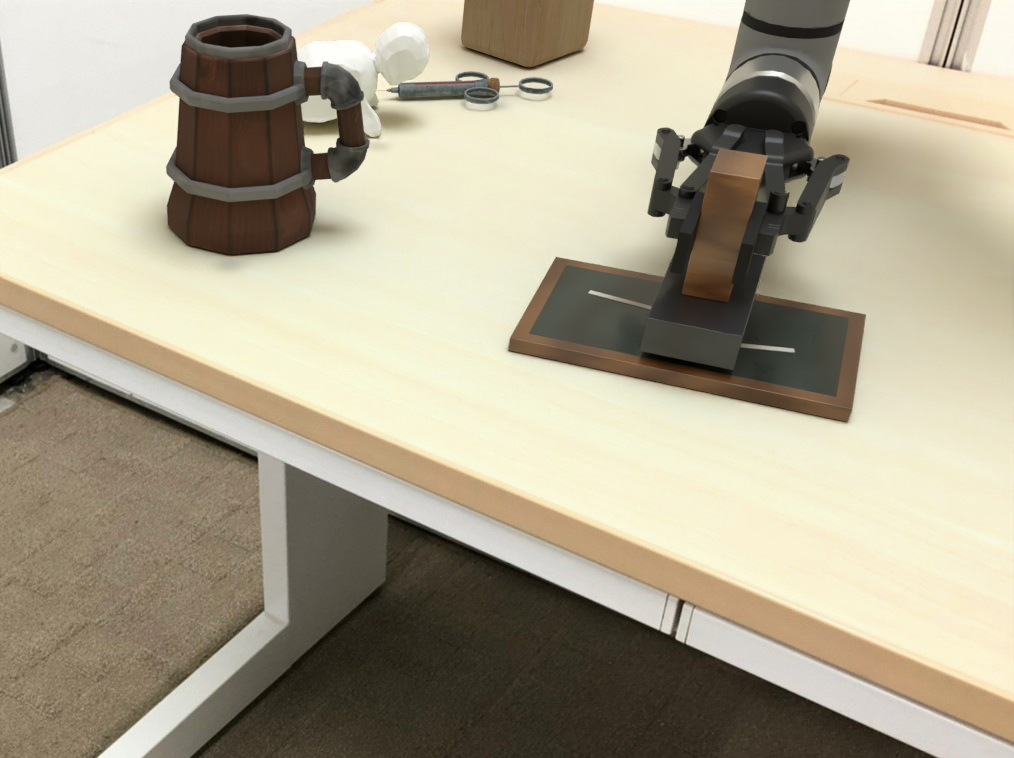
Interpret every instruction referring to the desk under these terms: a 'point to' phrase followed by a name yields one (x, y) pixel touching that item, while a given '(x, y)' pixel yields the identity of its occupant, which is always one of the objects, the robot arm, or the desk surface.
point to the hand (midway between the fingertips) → (711, 258)
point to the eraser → (711, 273)
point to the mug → (253, 136)
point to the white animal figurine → (368, 68)
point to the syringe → (467, 87)
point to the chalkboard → (756, 376)
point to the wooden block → (526, 28)
